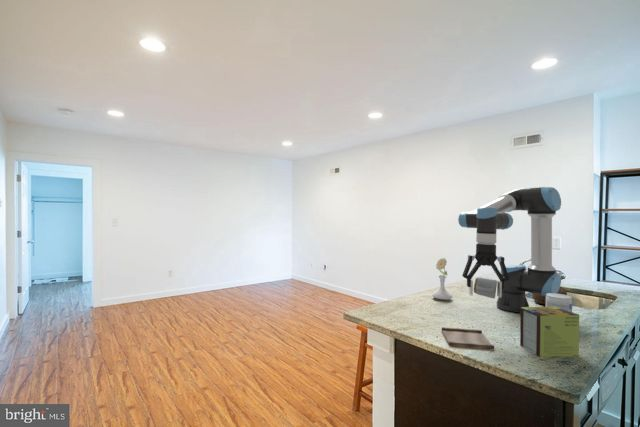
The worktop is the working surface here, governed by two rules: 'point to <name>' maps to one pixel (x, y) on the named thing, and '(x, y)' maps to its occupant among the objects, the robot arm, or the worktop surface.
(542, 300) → the bread
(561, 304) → the supplement tub
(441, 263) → the flower in vase
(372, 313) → the worktop surface
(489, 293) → the ceramic mug
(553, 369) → the worktop surface
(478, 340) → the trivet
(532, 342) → the protein box
